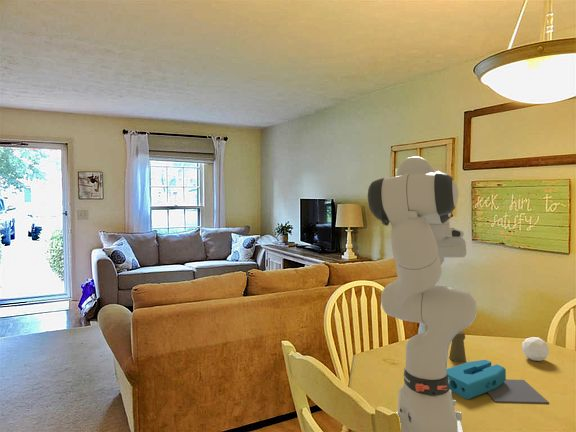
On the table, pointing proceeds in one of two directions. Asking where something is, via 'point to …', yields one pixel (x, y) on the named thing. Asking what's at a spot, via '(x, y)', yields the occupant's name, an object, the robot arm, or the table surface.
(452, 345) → the cork
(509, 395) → the mat
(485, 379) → the block
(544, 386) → the table surface
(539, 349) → the white faceted ball
